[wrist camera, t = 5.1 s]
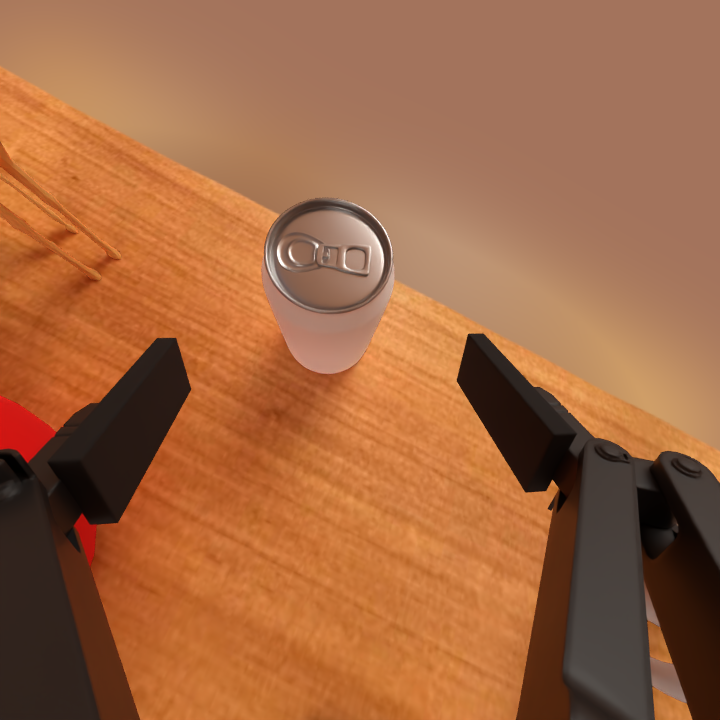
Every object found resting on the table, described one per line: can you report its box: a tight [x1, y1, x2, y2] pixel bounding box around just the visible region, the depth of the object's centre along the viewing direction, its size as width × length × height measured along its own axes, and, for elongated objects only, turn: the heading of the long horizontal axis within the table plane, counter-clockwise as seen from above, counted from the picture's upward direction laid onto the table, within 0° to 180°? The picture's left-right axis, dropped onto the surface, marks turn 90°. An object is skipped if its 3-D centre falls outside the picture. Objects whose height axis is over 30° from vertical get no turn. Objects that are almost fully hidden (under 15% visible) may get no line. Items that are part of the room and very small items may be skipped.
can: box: [262, 198, 395, 374], centre depth 20 cm, size 6×6×12 cm
